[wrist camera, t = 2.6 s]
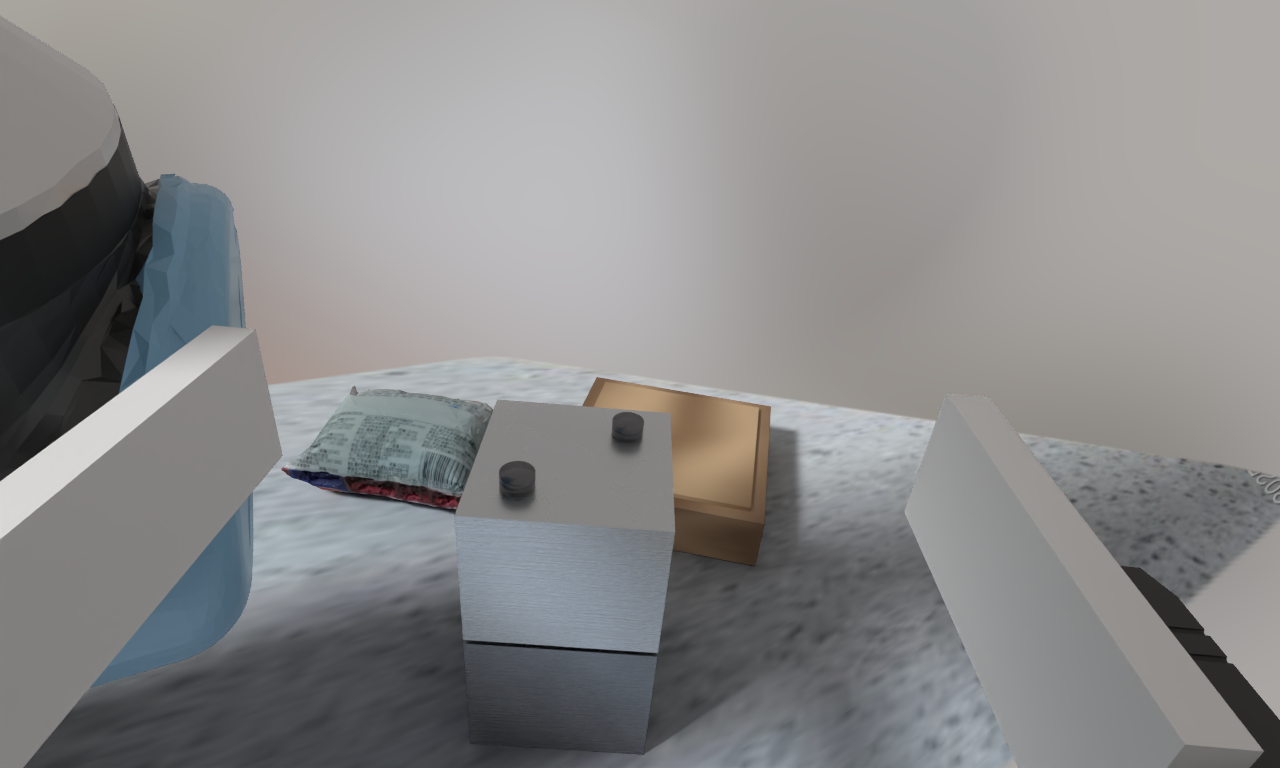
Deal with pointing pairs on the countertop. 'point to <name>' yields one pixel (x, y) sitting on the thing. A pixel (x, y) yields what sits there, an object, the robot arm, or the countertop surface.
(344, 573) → the countertop surface
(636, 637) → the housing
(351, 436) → the packaged food
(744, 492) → the stand
